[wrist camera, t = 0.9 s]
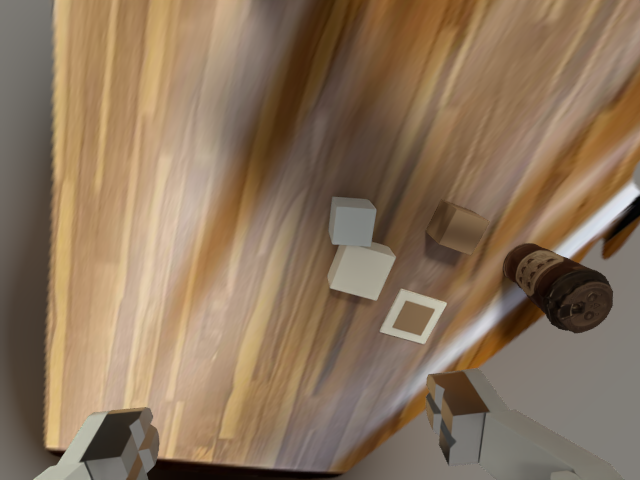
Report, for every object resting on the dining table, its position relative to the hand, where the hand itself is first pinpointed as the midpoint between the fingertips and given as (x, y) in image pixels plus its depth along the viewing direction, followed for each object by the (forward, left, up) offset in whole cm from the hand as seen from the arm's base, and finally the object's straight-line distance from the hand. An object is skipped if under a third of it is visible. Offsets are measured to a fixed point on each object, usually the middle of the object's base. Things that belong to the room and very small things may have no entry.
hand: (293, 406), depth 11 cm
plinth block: (+9, +14, -39) cm, 43 cm away
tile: (+15, +26, -39) cm, 49 cm away
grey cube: (+3, +10, -39) cm, 40 cm away
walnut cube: (-1, +24, -39) cm, 46 cm away
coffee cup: (+1, +38, -39) cm, 54 cm away
